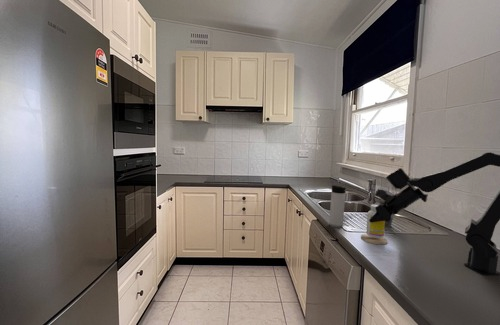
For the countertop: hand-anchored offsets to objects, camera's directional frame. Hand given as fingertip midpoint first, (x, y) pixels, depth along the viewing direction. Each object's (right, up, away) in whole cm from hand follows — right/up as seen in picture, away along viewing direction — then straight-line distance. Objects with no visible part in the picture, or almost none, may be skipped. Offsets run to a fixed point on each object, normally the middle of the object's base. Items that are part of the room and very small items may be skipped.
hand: (372, 219), depth 104 cm
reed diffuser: (+17, -7, +20) cm, 27 cm away
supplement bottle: (+1, -7, 0) cm, 7 cm away
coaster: (+1, -8, 0) cm, 9 cm away
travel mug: (-10, -7, +16) cm, 20 cm away
